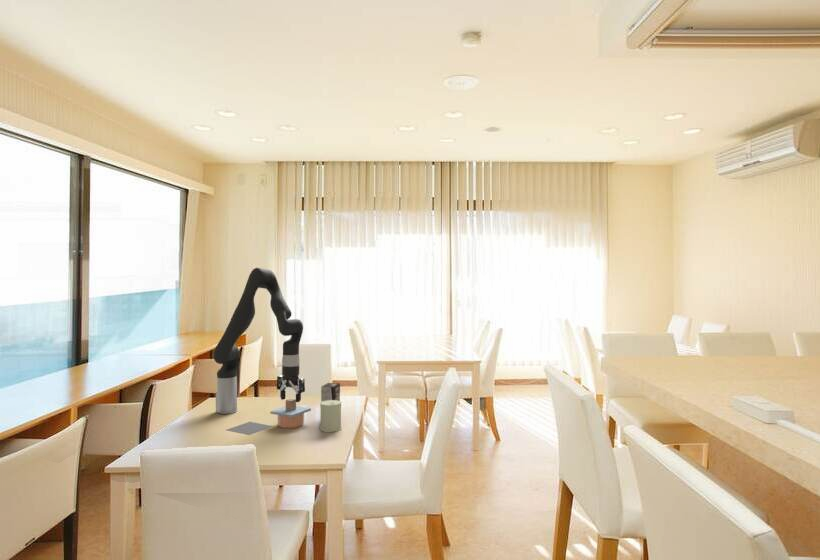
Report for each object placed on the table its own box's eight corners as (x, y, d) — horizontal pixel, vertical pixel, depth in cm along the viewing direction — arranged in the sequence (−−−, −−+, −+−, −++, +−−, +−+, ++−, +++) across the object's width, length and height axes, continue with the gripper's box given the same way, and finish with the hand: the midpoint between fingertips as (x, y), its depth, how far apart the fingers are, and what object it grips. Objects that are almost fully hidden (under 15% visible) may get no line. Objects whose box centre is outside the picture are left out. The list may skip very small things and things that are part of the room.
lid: (270, 413, 227) (270, 401, 227) (289, 407, 238) (289, 395, 238) (292, 417, 221) (292, 404, 221) (310, 410, 232) (310, 398, 232)
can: (323, 433, 218) (323, 405, 218) (317, 427, 227) (317, 400, 226) (344, 430, 223) (344, 402, 222) (337, 424, 231) (337, 398, 231)
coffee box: (333, 422, 234) (333, 387, 234) (320, 421, 236) (320, 386, 235) (340, 416, 243) (340, 382, 243) (327, 416, 244) (327, 382, 244)
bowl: (272, 426, 227) (272, 413, 227) (289, 420, 237) (289, 407, 237) (292, 430, 222) (292, 416, 222) (308, 423, 232) (308, 410, 231)
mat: (225, 430, 221) (225, 429, 221) (249, 422, 234) (249, 421, 234) (249, 435, 215) (249, 434, 215) (273, 426, 227) (273, 426, 227)
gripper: (272, 364, 229) (272, 400, 229) (297, 367, 222) (297, 404, 222) (284, 361, 235) (284, 396, 236) (308, 364, 229) (308, 400, 229)
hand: (290, 400), depth 229 cm, fingers open, 8 cm apart
